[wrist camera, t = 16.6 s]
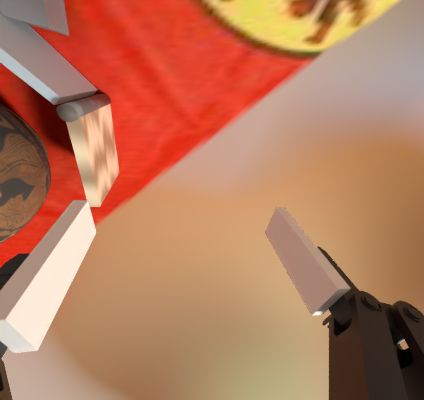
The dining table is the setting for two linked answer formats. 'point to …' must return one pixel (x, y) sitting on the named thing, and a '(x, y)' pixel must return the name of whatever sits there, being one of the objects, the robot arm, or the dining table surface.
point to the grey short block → (37, 13)
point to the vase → (20, 173)
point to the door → (40, 63)
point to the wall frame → (92, 144)
